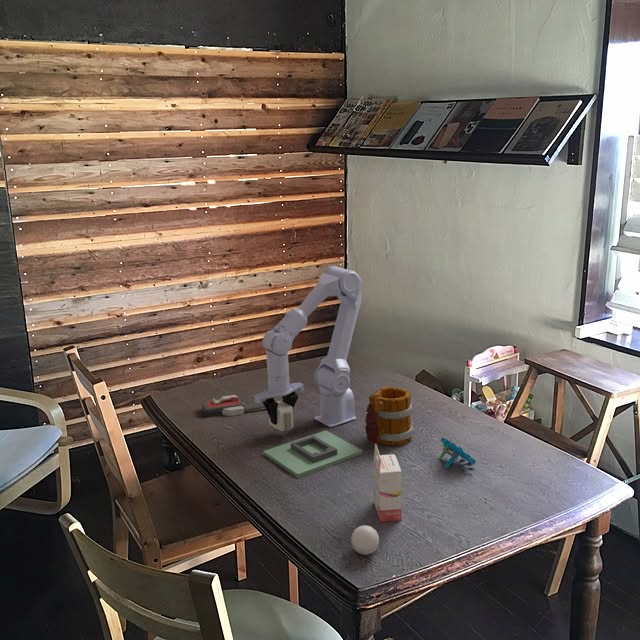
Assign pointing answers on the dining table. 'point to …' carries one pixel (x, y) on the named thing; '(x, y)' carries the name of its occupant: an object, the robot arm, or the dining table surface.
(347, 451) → the board
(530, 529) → the dining table surface
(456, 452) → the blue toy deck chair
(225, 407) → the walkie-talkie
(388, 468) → the ink cartridge box
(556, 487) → the dining table surface
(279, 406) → the plug
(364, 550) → the white egg
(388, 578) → the dining table surface
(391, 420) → the mug
